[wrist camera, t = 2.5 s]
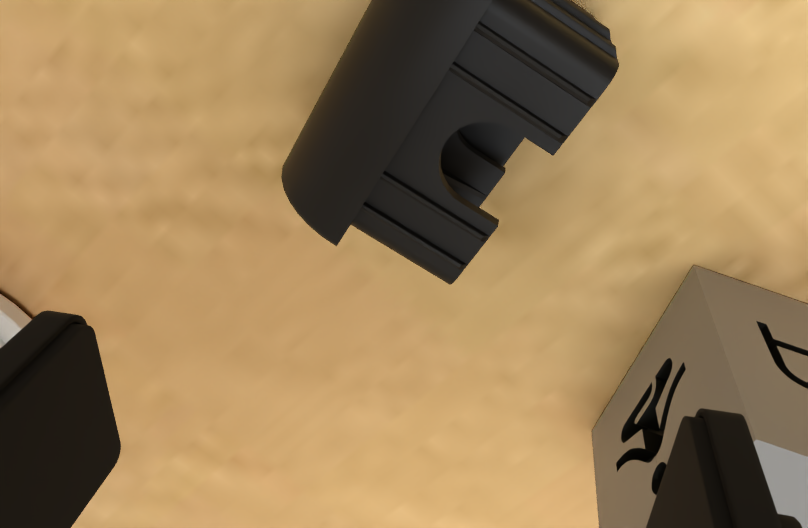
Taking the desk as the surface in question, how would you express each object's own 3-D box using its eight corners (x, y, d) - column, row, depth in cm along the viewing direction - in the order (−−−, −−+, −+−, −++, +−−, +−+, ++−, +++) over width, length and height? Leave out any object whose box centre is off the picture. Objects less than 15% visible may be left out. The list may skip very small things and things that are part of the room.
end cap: (442, -108, 23) (407, -95, 18) (614, 11, 24) (635, 60, 18) (312, 130, 28) (253, 200, 23) (458, 221, 29) (437, 310, 24)
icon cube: (925, 344, 28) (1087, 552, 20) (787, 498, 34) (869, 715, 25) (693, 264, 28) (755, 439, 20) (591, 431, 34) (606, 625, 25)
